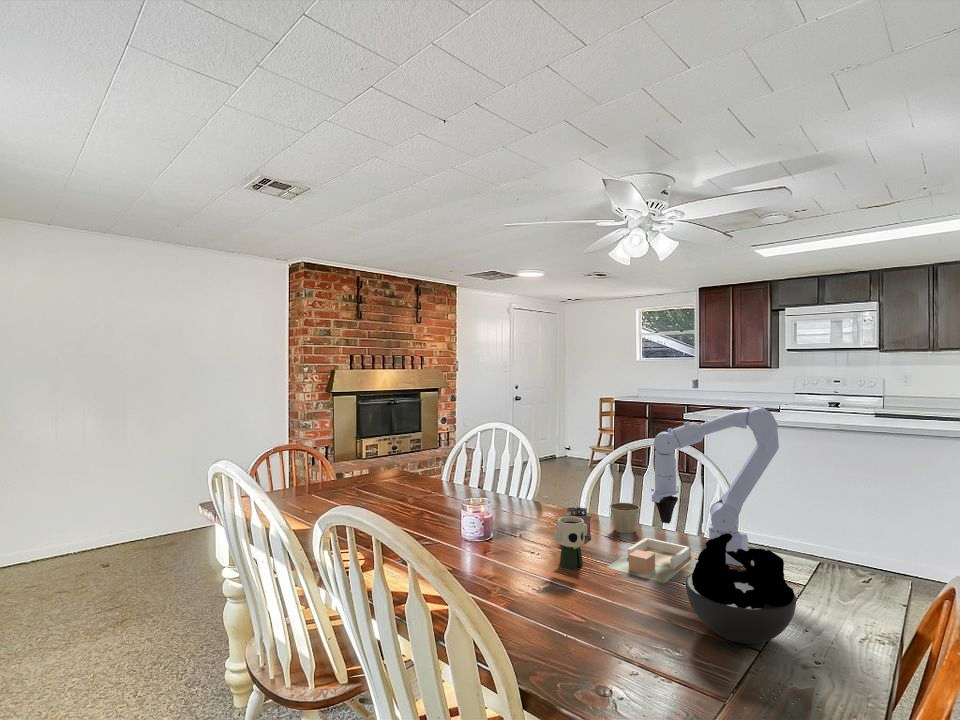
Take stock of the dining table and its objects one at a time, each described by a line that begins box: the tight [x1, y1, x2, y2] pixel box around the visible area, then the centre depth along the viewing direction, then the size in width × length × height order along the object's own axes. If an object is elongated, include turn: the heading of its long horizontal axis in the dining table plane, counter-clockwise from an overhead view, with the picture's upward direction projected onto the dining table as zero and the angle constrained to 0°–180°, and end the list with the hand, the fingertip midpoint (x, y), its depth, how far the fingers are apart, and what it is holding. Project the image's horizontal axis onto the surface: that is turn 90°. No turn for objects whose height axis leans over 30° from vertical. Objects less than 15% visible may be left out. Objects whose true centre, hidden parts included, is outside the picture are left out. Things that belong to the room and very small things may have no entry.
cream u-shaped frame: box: [627, 537, 692, 569], centre depth 150 cm, size 13×12×2 cm
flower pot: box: [609, 502, 641, 534], centre depth 174 cm, size 9×9×9 cm
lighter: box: [564, 505, 592, 541], centre depth 169 cm, size 8×3×10 cm, turn 84°
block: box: [629, 550, 655, 575], centre depth 141 cm, size 5×5×4 cm
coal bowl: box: [684, 533, 797, 645], centre depth 108 cm, size 20×20×19 cm
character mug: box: [553, 516, 587, 570], centre depth 146 cm, size 11×7×13 cm, turn 120°
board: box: [605, 548, 697, 584], centre depth 146 cm, size 16×22×1 cm
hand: (666, 522), depth 154 cm, fingers closed
